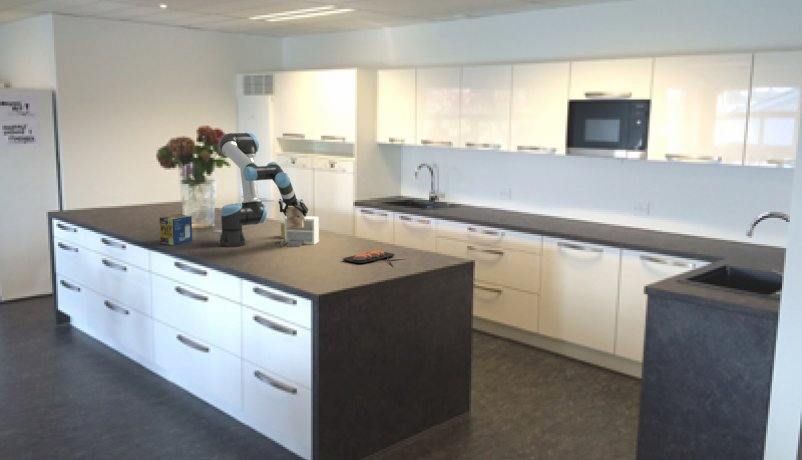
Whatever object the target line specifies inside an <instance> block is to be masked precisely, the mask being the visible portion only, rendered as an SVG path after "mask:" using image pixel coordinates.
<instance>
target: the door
mask: <svg viewBox="0 0 802 460" xmlns="http://www.w3.org/2000/svg"><path fill="white" fill-rule="evenodd" d="M287 227H296V228H303V227H304V219H303V217H302V212H300V211H299V210H298V209H297V208H295V207H294V206H288V208H287Z"/></svg>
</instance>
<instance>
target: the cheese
mask: <svg viewBox="0 0 802 460" xmlns="http://www.w3.org/2000/svg"><path fill="white" fill-rule="evenodd" d="M280 237H281V239H283V240H285V220H283V222H281V223H280Z"/></svg>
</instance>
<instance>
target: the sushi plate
mask: <svg viewBox="0 0 802 460" xmlns="http://www.w3.org/2000/svg"><path fill="white" fill-rule="evenodd" d="M394 256H395V253H392V252H387V251H381V250H373V251H370V252H365V253H359V254H356V255H355V254H354V255H352V256H347V257H343V258H342V260H343V261H345V262H350V263H355V264H364V263H369V262H373V261H374V262H375V261H376V262H379V261H380V262H381V261H383V262H384V261H385V262H386V261H388V262H389V264H390V266H391V267H392V268H394V265H393V263H392V262H391V261H403V260H404V261H405V260H406V258H397V259H393V258H392V259H390V258H391V257H394Z"/></svg>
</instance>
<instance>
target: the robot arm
mask: <svg viewBox="0 0 802 460" xmlns="http://www.w3.org/2000/svg"><path fill="white" fill-rule="evenodd" d="M259 148H260V144H259V139H258V138H257V136H256V135H255V134H254V133H251V132H249V133H248V132H237V133H235V132H232V133H231V132H230V133H225V134H223V135H222V137H221V138H220V139H219V141H218V149H219V151H220V153H221V154H222V155H223V156H224V157H226V158H229V159H230V161H232V162H233V163H234V164H235V165H236V166H237V167H238V168H239V170H240V171H239V173H240V177H241V178H240V179H241V188H242V197H243V200H242V202H241V203H238V202H237V203H229V204H226V205H223V206H222V207H221V208H220V209H221V210H220V219H221V221H220V222H221V233H220V236H219V239H218V245H219V246H220V247H226V248H227V247H229V248H230V247H232V248H233V247H241V246H242V247H243V246H245V245H246V244H247V241H246V237H245V234H244V232H243V226H251V225H252V226H253V225H255V226H256V225H259V224H260V225H261V224H263V223H264V222H265V221H266V219H267V216H268V208H267V207H266V204H264V203H263V202H262V200H261V199H260V198H259V190H258V183H257V181H271V180H272V181H273V183H274V184H275V186H276V187H277V188H278V191H279V194H280V197H281V198H279V199H278V204H279V213H283V214H284V216H285V218H286V217H287V208H288V206H294V207H295V208H297V209H298V210H299V211H300V212H302V217H303V219H304V221H305V220H306V216H307V214H308V211H309V208H308V207H307V205H306V204H305V202H304V200H303V199H300V200H298V198H297V197H296V193H295V191H294V188H293V185H292V182H291V179H290V177H289V175H288V173H286V172H284V170H283V169H282V167H281V166H280V165H279V164H278V163H277V162H276V161H271V162H269V163H268V164H267V165H261V166H258V165H257V164H256V163H255V157H256V155H257V154H256V153H257V152H259V150H260V149H259ZM283 204H285V206H284V205H283ZM283 206H284V207H283Z"/></svg>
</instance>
